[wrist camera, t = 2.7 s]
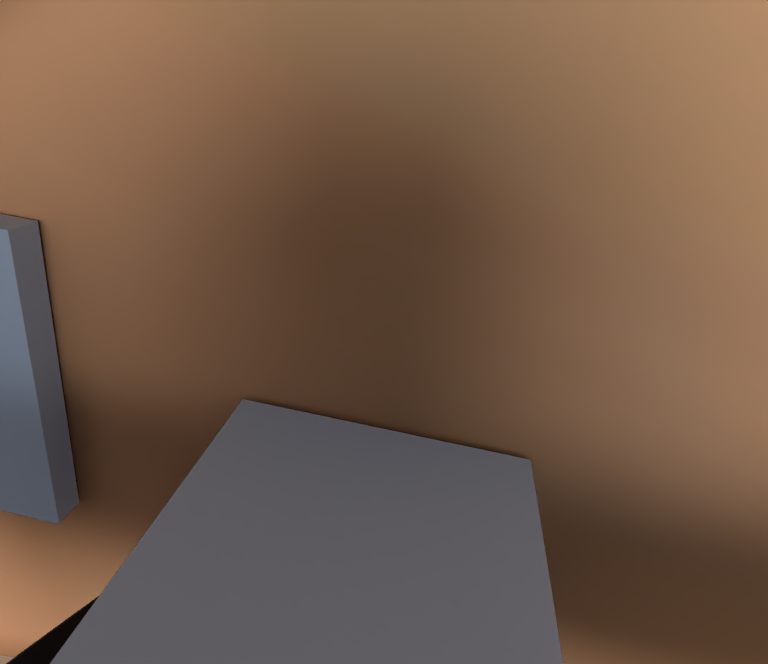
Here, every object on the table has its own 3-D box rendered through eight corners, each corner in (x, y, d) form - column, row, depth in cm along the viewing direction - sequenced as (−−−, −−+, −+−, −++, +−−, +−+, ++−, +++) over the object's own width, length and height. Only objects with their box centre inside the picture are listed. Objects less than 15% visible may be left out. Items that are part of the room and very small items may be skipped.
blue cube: (530, 459, 9) (592, 850, 4) (467, 647, 11) (463, 1035, 6) (242, 398, 9) (22, 701, 5) (237, 592, 11) (84, 923, 7)
